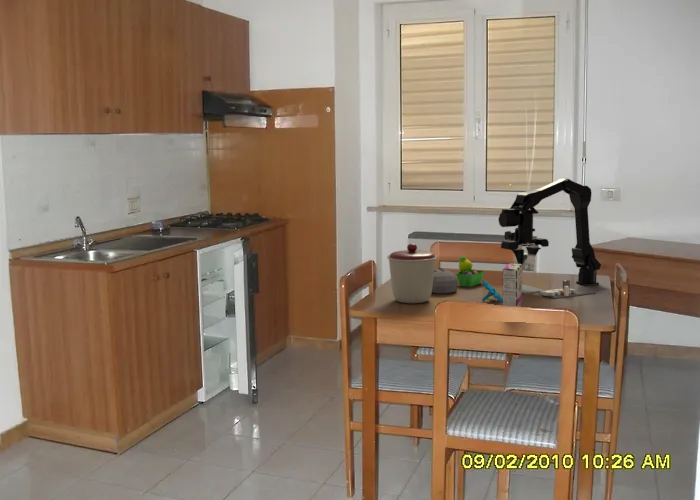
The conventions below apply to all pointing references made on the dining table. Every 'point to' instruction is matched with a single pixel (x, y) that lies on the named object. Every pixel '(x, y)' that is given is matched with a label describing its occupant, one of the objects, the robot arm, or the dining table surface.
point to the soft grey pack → (444, 281)
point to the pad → (530, 289)
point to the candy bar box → (512, 285)
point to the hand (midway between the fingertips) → (524, 265)
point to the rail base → (566, 293)
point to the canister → (412, 274)
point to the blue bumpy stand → (491, 292)
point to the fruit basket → (468, 273)
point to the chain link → (527, 262)
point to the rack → (558, 290)
